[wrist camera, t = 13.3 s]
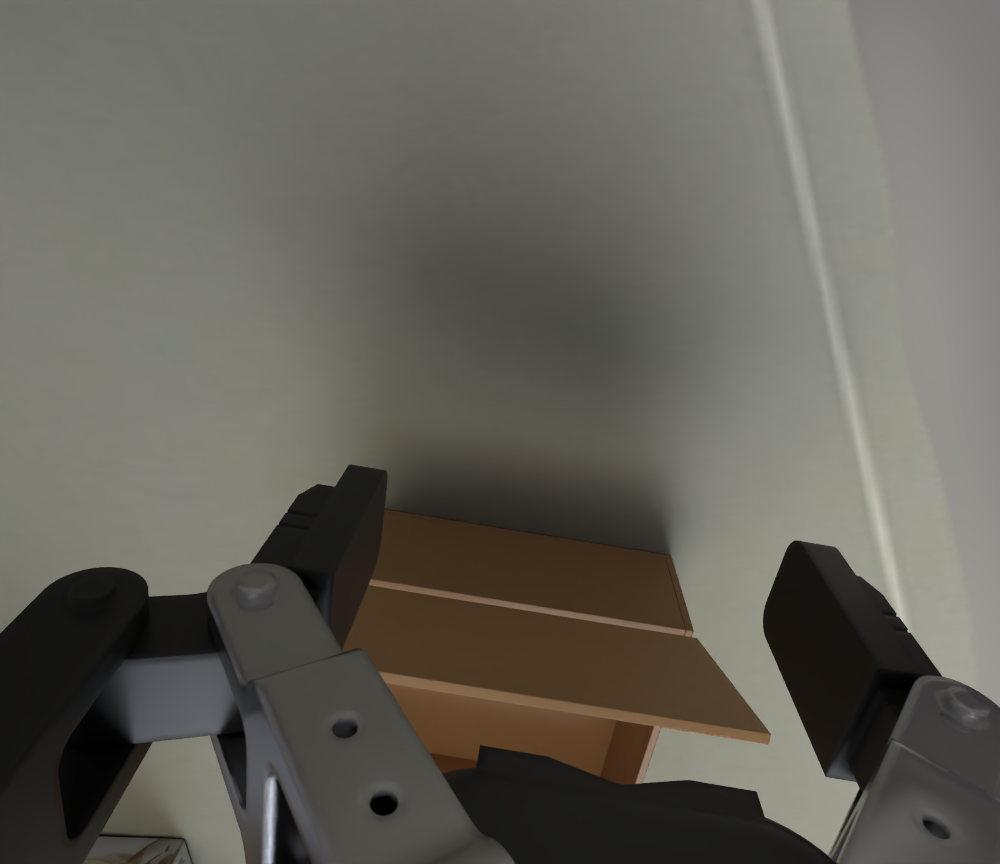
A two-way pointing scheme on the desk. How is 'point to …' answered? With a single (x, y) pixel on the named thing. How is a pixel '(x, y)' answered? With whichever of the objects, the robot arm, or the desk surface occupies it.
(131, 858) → the coffee box
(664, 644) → the flap
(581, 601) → the carton
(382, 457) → the desk surface
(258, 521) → the desk surface
